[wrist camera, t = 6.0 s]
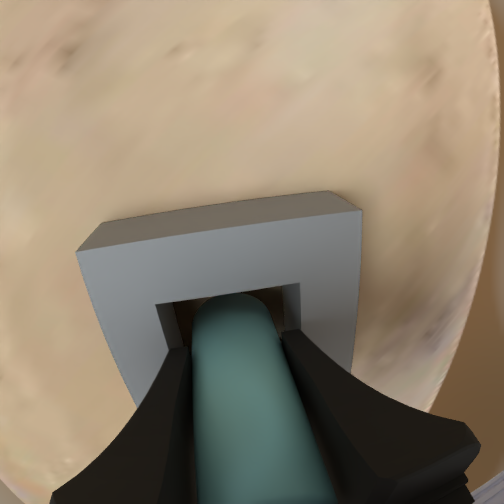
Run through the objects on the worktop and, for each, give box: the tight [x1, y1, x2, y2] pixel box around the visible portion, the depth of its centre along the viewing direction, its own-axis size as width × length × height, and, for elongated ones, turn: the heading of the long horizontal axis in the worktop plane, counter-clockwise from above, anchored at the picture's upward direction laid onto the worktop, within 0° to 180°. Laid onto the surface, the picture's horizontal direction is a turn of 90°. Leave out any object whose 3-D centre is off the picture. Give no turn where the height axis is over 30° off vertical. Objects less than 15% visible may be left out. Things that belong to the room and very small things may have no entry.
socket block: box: [75, 191, 362, 408], centre depth 13 cm, size 9×9×3 cm
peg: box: [192, 293, 338, 504], centre depth 9 cm, size 3×3×8 cm
